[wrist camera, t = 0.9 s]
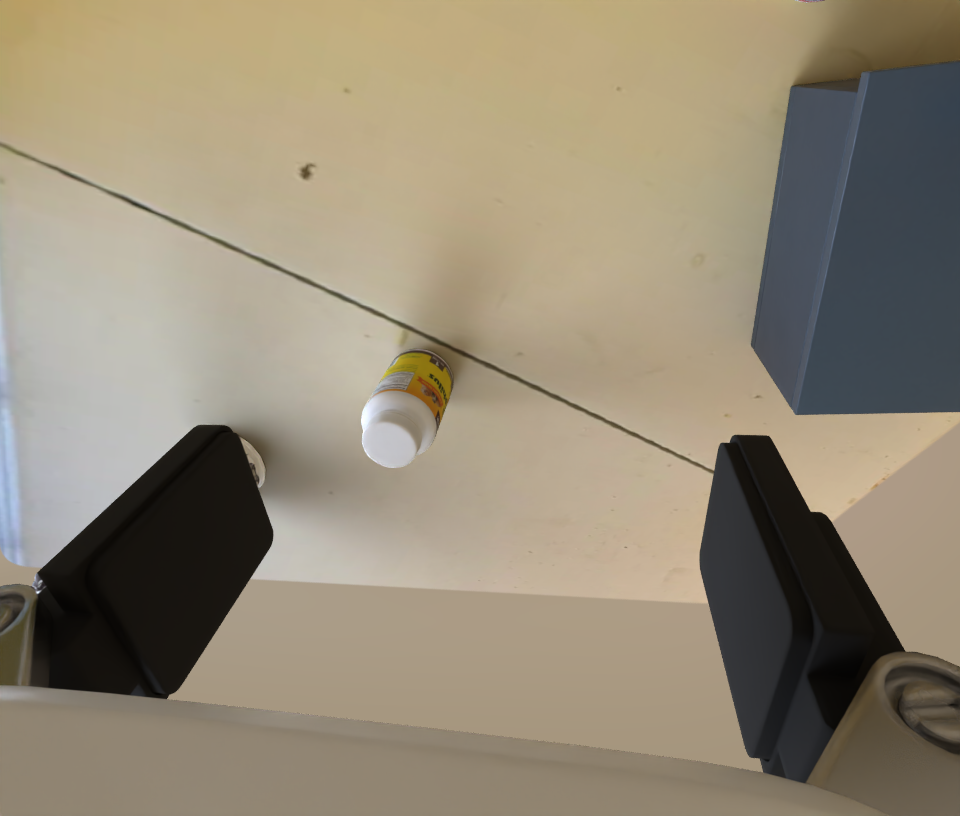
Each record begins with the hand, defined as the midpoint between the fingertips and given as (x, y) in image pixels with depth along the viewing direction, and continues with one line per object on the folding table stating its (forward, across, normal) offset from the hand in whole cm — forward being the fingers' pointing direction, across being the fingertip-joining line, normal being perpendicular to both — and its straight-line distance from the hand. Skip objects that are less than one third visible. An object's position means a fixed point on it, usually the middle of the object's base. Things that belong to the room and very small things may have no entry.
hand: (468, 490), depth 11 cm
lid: (+23, -22, +3) cm, 32 cm away
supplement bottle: (+32, +10, +14) cm, 36 cm away
